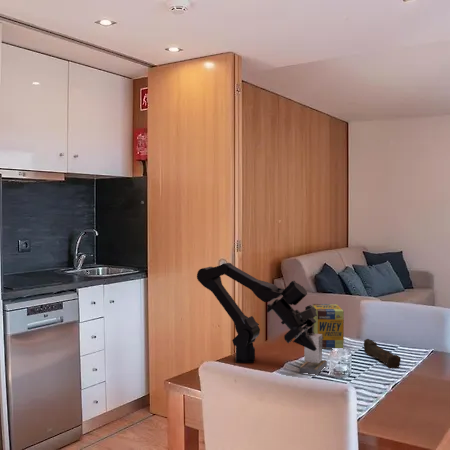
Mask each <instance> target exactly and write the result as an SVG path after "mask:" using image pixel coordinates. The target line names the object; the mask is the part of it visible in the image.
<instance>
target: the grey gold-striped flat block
mask: <svg viewBox="0 0 450 450" xmlns="http://www.w3.org/2000/svg"><path fill="white" fill-rule="evenodd" d="M326 366H327V367H328V360H326V359H324V360H323V359H322V361H321V362H319V363H313V362H306V361H304V363H303V364H301V365H300V367H299V373H308V374H315V375H317V374H318V373H319V372H320V371H321V370H322V369H323V368H324V367H326ZM327 367H326V368H327ZM299 373H298V374H299ZM319 374H320V373H319ZM319 374H318V375H319ZM318 375H317V376H318Z"/></svg>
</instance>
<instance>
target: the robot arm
mask: <svg viewBox="0 0 450 450" xmlns="http://www.w3.org/2000/svg"><path fill="white" fill-rule="evenodd" d="M224 275H225V276H227V277H228V278H229V279H232V280H234V281H235V282H236V283H239V284H241V286H243V287H245V288H248V289H249V290H250V291H251V292H252V293H253V295H254V296H256V297H257V298H258V299H259V300H260V301H262V302H264V303H268V304H266V313H270V312H272V311H273V312H274V313H275V314H276V316H277V317H278V318H279V319H280V320H281V322H280V323H281V324H282V325H285V326H286V327H287V328H288V329H289V330H288V331H287V332H286V333H285V334H284V336H283V338H284V340H285V343H287V344H289V343H291V341H292V342H293V343H294V344H297V345H300V346H302V347H306V348H308V349H310V350H312V351H315V350H316V348H315V346H314V344H313V343H312V341H311V340H310V339H309V337H308V335H307V333H314V332H313V330H314V325H313V324H314V323H316V320H315V319H314V317H315V316H317V314H316V309H315V308H314V307H313V305H311V304H309V305H307V306H305V310H302V311H300V310H299V309H294V308H293V307H292V305H293V306H297V305H298V304H299V303H300V302H301V301H302V300H303V299H304V298H305V297H306V296H307V295H308V292H307V290H306V288H305V287H304V286H303V285H301V284H300V283H298V282H297V281H296V280H292V281H291V282H290V283H289V284H288V285H287V286H286V287H285V288H282V287H281V288H280V287H278V286H277V285H276V284H273V283H271V282H268V281H264V280H261V279H257V278H255V276H253V275H251V274H249V273H248V272H245V271H244V270H242V269H241V268H238V267H237V266H235V265H233V264H232V263H231V262H225V263H221V264H219V265H218V266H208V267H202V268H200V269H198V271H197V274H196V279H197V281H198V282H199V283H200V284H201V285H202V287H204V288H205V289H207V290H208V291H210V292H211V293H212V294H213V295H214V296H215V298H216V300H217V301H218V302H219V303H220V305H221V306H222V308H223V310H225V312H226V313H227V315H228V316H229V318H230V319H231V320H232V321H233V323H234V324H233V325H234V328H235V332H236V334H237V335H236V336H235V337H234V338H233V339H232V340H231V341H232V344H233V346H235V358H234V359H235V363H237V364H238V363H239V364H241V363H243V364H247V363H249V364H250V363H252V364H253V363H255V359H256V348H255V346H254V343H255V341H256V340H257V338H258V337H259V336H260V331H261V329H260V326H259V325H260V324H259V323H258V322H257V321H256V319H255V318H254V316H253V315H252V316H249V317H248V316H247V315H246V314H245V313H244V312H243V310H242V309H241V308H240V307H239V305H238V304H237V303H236V301H235V300H234V298H233V297H232V296H231V294H230V293H229V292H228V290H227V289H226V288H225V287H224V285H223V282H222V278H221V276H224ZM280 297H281V298H280ZM278 298H280V299H278ZM269 302H272V303H269ZM312 325H313V326H312Z"/></svg>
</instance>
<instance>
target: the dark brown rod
mask: <svg viewBox="0 0 450 450" xmlns="http://www.w3.org/2000/svg"><path fill="white" fill-rule="evenodd" d="M363 350H364V352H365V354H367V355H368V356H369V357H373V358H375V359H378V360H379V361H380V362H382V363H383V364H385V365H387V367H388V368H389V369H397V368H399V367H400V365H401V357H400V355H397V354H393V353H392V352H391V351H388V350H385V349H384V348H382V347H380V346H379V345H378V344H377V342H375V341H374V340H371V339H369V338H366V339H364V340H363Z"/></svg>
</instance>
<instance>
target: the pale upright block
mask: <svg viewBox="0 0 450 450" xmlns="http://www.w3.org/2000/svg"><path fill="white" fill-rule="evenodd" d="M307 335H308V337H309V339H310V340H311V341H312V343H313V344H314V346H315V348H316V350H315V351H312V350H310V349H308V348H306V347H304V346H303V347H304V348H303V349H304V355H303V356H304V362H313V363H319V362H321V361H322V360H323V350H322V334H316V333H307Z"/></svg>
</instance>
